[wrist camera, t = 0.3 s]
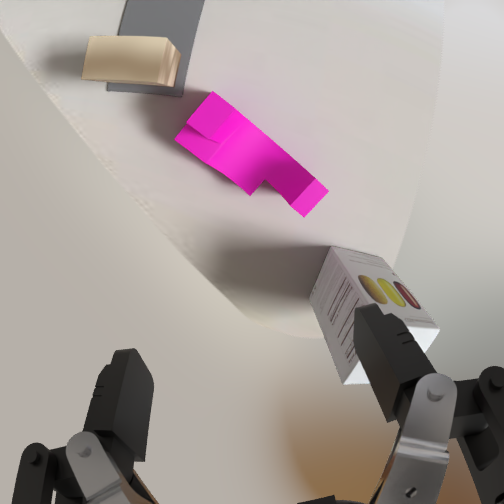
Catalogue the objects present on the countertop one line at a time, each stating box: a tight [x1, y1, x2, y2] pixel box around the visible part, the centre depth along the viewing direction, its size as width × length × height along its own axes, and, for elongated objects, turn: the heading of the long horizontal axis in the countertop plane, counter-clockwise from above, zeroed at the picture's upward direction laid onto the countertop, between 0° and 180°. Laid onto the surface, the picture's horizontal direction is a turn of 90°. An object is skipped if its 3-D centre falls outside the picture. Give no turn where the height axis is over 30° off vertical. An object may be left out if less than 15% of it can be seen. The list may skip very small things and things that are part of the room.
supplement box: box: [309, 246, 440, 384], centre depth 37 cm, size 10×9×17 cm
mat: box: [107, 0, 205, 97], centre depth 27 cm, size 16×9×1 cm, turn 168°
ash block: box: [81, 36, 181, 87], centre depth 24 cm, size 4×7×10 cm, turn 78°
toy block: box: [174, 91, 329, 217], centre depth 32 cm, size 15×6×8 cm, turn 49°
